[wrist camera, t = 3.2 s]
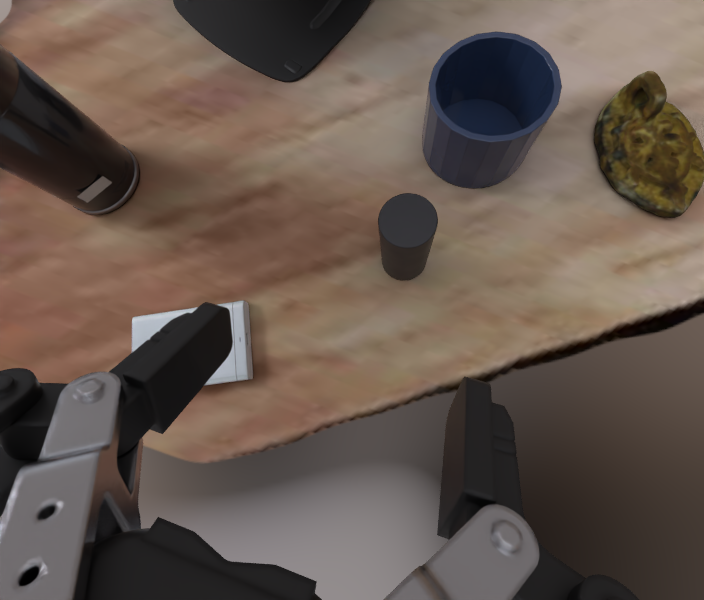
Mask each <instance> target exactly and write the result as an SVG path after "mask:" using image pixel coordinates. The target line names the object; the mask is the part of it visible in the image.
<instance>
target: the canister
mask: <svg viewBox="0 0 704 600" xmlns="http://www.w3.org/2000/svg"><path fill="white" fill-rule="evenodd" d="M437 223H438V218H437V213H436V210H435V208H434V207H433V205H432V204H431V203H430V202H429V201H428V200H427V199H426V198H424V197H422V196H420V195H417V194H411V193H406V194H400V195H397V196H395V197H393V198H391V199H390V200H389V201H387V202H386V203H385V205H384V206H383V207H382V209H381V211H380V214H379V218H378V225H379V236H380V246H381V256H382V264H383V267H384V269H385V271H386V272H387V273H388V274H389V275H390V276H391V277H393V278H395V279H397V280H410V279H413V278H415V277H417V276H418V275H419V274H420V273H421V272H422V271H423V269H424V267H425V264H426V261H427V258H428V254H429V251H430V248H431V244H432V241H433V238H434V235H435V231H436V228H437Z"/></svg>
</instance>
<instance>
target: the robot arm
mask: <svg viewBox="0 0 704 600" xmlns="http://www.w3.org/2000/svg"><path fill="white" fill-rule="evenodd" d="M0 168H1V169H3V170H5V171H7V172H9V173H11V174H13V175H15V176H17V177H19V178H21V179H23V180H25V181H27V182H28V183H30V184H32V185H34V186H36V187H38V188H40V189H42V190H44V191H46V192H48V193H50V194H52V195H53V196H55V197H57V198H59V199H61V200H63V201H65V202H67V203H69V204H71V205H73V206H74V207H75V208H77V209H78V210H80V211H82V212H85V213H88V214H93V215H100V214H106V213H109V212H111V211H114V210H115V209H117V208H119V207H120V206H122V205H123V204H124V203H125V202H126V201H127V200H128V199H129V198H130V197H131V195H132V194H133V192H134V190H135V188H136V186H137V183H138V179H139V165H138V162H137V160H136V158H135V156H134V155H133V154H132V153H131V152H130V151H129V150H128V149H127V148H126V147H124V146H123V145H121V144H119V143H118V142H117V141H116V140H115V139H113V138H112V137H111V136H110V135H109V134H108V133H106V132H105V131H104V130H103V129H102V128H101V127H99V126H98V125H97V124H96V123H95V122H93V121H92V120H91V119H90V118H89V117H87V116H86V115H85V114H84V113H83V112H81V111H80V110H79V109H78V108H77V107H75V106H74V105H73V104H72V103H71V102H69V101H68V100H67V99H66V98H65V97H63V96H62V95H61V94H60V93H59V92H57V91H56V90H55V89H54V88H53V87H51V86H50V85H49V84H48V83H47V82H45V81H44V80H43V79H42V78H41V77H39V76H38V75H37V74H36V73H35V72H33V71H32V70H31V69H30V68H29V67H27V66H26V65H25V64H24V63H23V62H21V61H20V60H19V59H18V58H17V57H15V56H14V55H13V54H12V53H11V52H9V51H8V50H7V49H6V48H4V47H3V46H2V45H1V44H0ZM232 345H233V338H232V328H231V319H230V311H229V309H228V308H226V307H222V306H219V305H215V304H212V303H208V302H205V303H203V304H202V305H200V306H199V307H198V308H197V309H196V310H195V311H194V312H192V313H188V312H187V313H185V314H183V315H180V316H178V317H176V318H174V319H172V320H171V321H169V322H168V323H167V324H166V325H165V326H163V327H162V328H161V329H160V331H157V332H156V333H155V334H154V335H153V336H151V337H150V340H147V341H145V342H144V343H143V344H142V345H141V346H139V347H138V348H137V349H136V350H135V351H134V352H132V353H131V354H130V355H129V356H128V357H126V358H125V359H124V360H123V361H122V362H120V363H119V364H118V365H117V366H116V367H114V368H113V369H112V370H111V371H109V372H94V373H90V374H87V375H84V376H81V377H79V378H77V379H75V380H74V381H72V382H71V383H70V384H59V383H39V382H38V380H37V378H36V377H35V375H34V373H33V372H31V371H30V370H27V369H23V368H14V369H7V370H3V371H0V516H1V515H2V514H3V515H2V517H1V520H0V600H322V599H321V598H319V597H318V596H317V595H316V594H315V588H316V581H314V580H311V579H309V578H306V577H304V576H302V575H299V574H296V573H294V572H292V571H289V570H287V569H284V568H282V567H279V566H277V565H271V564H256V563H241V562H230V561H227V560H226V559H224V558H223V557H222V556H221V555H220V554H219V553H217V552H216V551H215V550H214V549H213V548H212V547H211V546H210V545H208V544H207V543H206V542H205V541H204V540H203V539H202V538H201V537H200V536H199V535H197V534H196V533H195V532H193V531H191V530H189V529H186V528H184V527H181V526H179V525H176V524H174V523H171V522H169V521H166V520H164V519H162V518H159V517H158V518H157V519H156V521H155V522H154V524H153V525H152V527H151V528H150V529H149V528H147V529H141V523H140V514H139V508H138V493H139V482H140V471H141V460H142V449H143V439H142V437H143V436H144V434H145V433H146V432H147V431H148V430H149V429H150V430H153V431H156V432H159V433H161V434H163V433H164V432H165V431H166V430H167V428H168V427H169V426H170V425H171V424H172V422H173V421H174V420H175V419H176V418H177V417H178V415H179V414H180V413H181V412H182V411H183V409H184V408H185V407H186V406H187V405H188V404H189V402H190V401H191V400H192V399H193V398H194V396H195V395H196V394H197V393H198V392H199V391H200V389H201V388H202V387H203V386H204V385H205V383H206V382H207V381H208V380H209V379H210V378H211V376H212V375H213V374H214V373H215V372H216V370H217V369H218V368H219V367H220V366H221V365H222V363H223V362H224V361H225V360H226V359H227V357H228V356H229V354H230V352H231V349H232ZM514 440H515V436H514V427H513V422H512V420H511V418H510V416H509V414H508V412H507V410H506V409H505V407H504V406H502V405H498V404H495V403H492V400H491V386H490V384H489V383H486V382H482V381H479V380H475V379H472V378H468V377H464V378H463V380H462V382H461V384H460V386H459V389H458V391H457V393H456V396H455V398H454V400H453V403H452V405H451V407H450V410H449V413H448V417H447V422H446V430H445V443H444V456H443V469H442V483H441V495H440V509H439V520H438V534H437V535H439V536H441V537H444V538H447V539H449V541H448V542H447V543H446V544H445V545H444V546H443V547H442V548H441V549H440V550H439V551H438V552H437V553H436V554H434V555H433V556H432V557H431V558H430V559H429V560H428V561H427V562H426V563H425V564H424V565H422V566H419V567H418V568H416V569H415V570H414V571H413V572H412V573H411V574H410V575H409V576H407V577H406V578H405V579H404V580H403V581H402V582H401V583H400V584H399V585H398V586H397V587H396V588H395V589H394V590H393V591H392V592H391V593H390V594H389V595H388V596H387V597H386V598H385V599H384V600H639V599H638V598H637V597H636V596H635V595H634V594H633V593H632V592H631V591H630V590H629V589H627V587H625V586H624V585H623V584H621V583H620V582H618V581H617V580H615V579H613V578H611V577H608V576H604V575H592V576H589V577H588V578H585V577H583V576H582V575H580V574H579V573H577V572H576V571H574V570H573V569H572V568H570V567H569V566H567V565H566V564H564V563H563V562H562V561H560V560H559V559H557V558H556V557H554V556H553V555H552V554H550V553H549V552H548V551H547V550H546V549H545V548H544V547H543V546H542V545H541V544H540V543H539V542H538V541H537V540H536V537H535V535H534V533H533V531H532V529H531V528H530V527H529V525H528V524H527V522H526V521H525V517H524V514H523V508H522V499H521V490H520V481H519V472H518V463H517V457H516V446H515V442H514Z"/></svg>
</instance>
